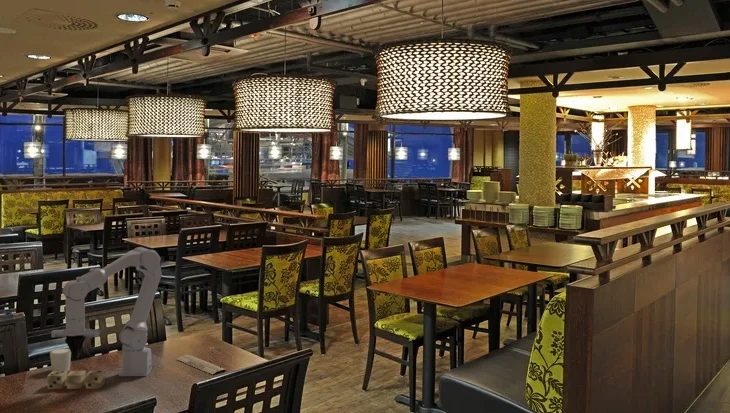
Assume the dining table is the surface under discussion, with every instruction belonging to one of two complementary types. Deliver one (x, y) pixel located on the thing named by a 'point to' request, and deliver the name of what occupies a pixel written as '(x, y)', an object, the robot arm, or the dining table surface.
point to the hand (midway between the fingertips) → (76, 358)
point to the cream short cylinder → (60, 359)
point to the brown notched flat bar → (200, 364)
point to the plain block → (76, 379)
